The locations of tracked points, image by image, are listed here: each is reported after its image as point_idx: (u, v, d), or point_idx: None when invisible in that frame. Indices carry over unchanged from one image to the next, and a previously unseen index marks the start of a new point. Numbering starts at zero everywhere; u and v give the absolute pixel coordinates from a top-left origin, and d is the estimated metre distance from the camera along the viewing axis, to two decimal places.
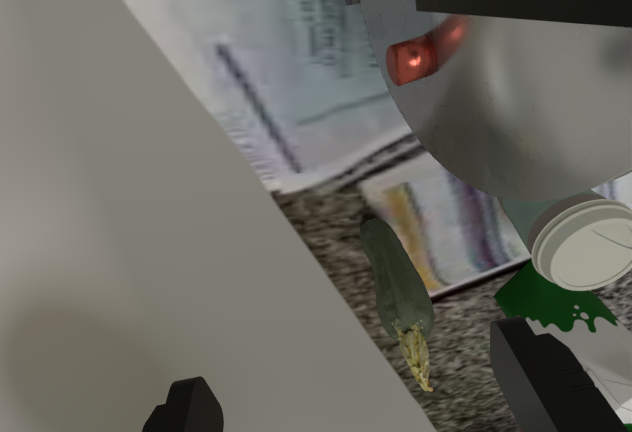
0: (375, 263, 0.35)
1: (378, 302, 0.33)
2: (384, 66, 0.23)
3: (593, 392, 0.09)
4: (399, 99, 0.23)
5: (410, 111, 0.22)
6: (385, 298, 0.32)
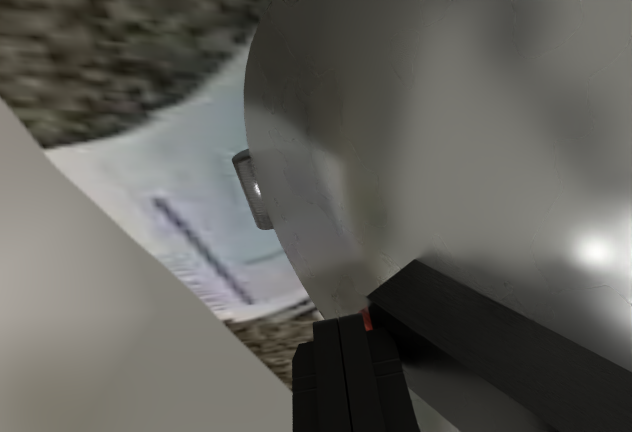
0: None
1: None
2: (315, 297, 0.21)
3: (399, 378, 0.10)
4: None
5: None
6: None
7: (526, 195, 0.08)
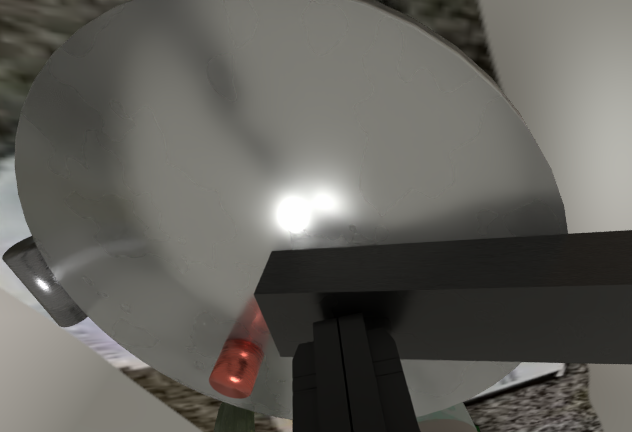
0: None
1: None
2: (164, 365, 0.19)
3: (399, 378, 0.10)
4: (202, 387, 0.20)
5: None
6: None
7: (346, 150, 0.11)
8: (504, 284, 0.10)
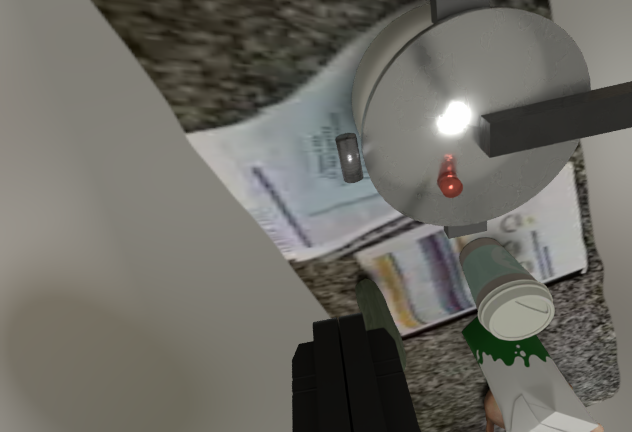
0: (365, 320, 0.49)
1: None
2: (398, 202, 0.38)
3: (399, 378, 0.10)
4: (414, 213, 0.38)
5: (427, 213, 0.38)
6: None
7: (522, 65, 0.31)
8: (580, 103, 0.31)
